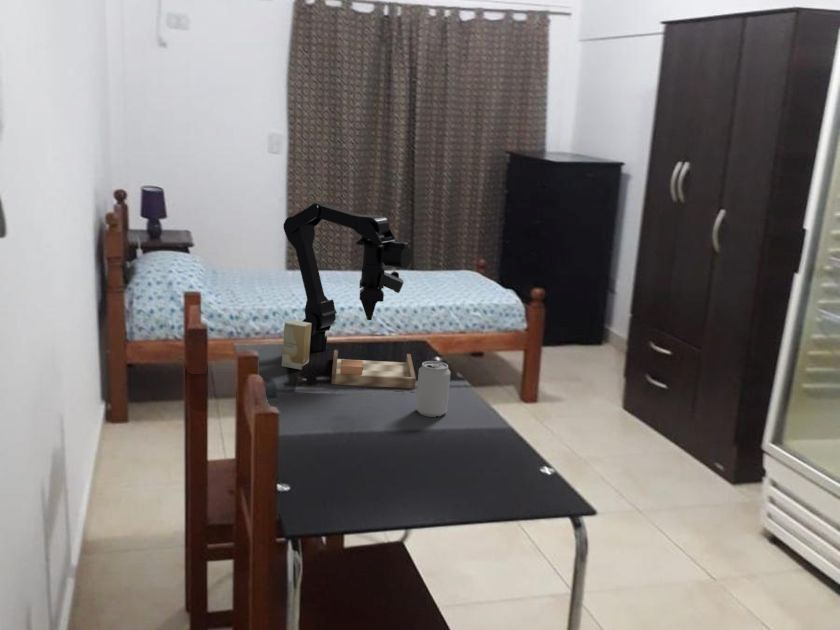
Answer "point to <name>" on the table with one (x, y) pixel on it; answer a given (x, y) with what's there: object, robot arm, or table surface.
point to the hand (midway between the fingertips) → (369, 319)
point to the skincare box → (296, 344)
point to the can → (433, 388)
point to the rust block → (351, 367)
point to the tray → (377, 374)
